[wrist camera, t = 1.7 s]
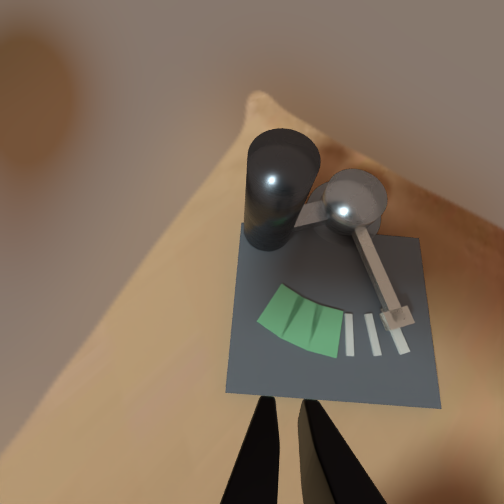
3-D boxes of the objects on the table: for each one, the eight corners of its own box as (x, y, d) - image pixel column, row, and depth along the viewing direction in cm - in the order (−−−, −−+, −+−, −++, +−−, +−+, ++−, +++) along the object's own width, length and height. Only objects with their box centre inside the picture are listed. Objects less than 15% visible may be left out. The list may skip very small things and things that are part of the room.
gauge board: (431, 406, 20) (443, 409, 19) (225, 390, 20) (225, 393, 18) (405, 193, 26) (413, 185, 25) (245, 178, 25) (246, 170, 24)
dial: (359, 181, 24) (420, 95, 16) (423, 319, 21) (542, 294, 13) (236, 209, 23) (237, 129, 15) (282, 363, 19) (315, 366, 11)
